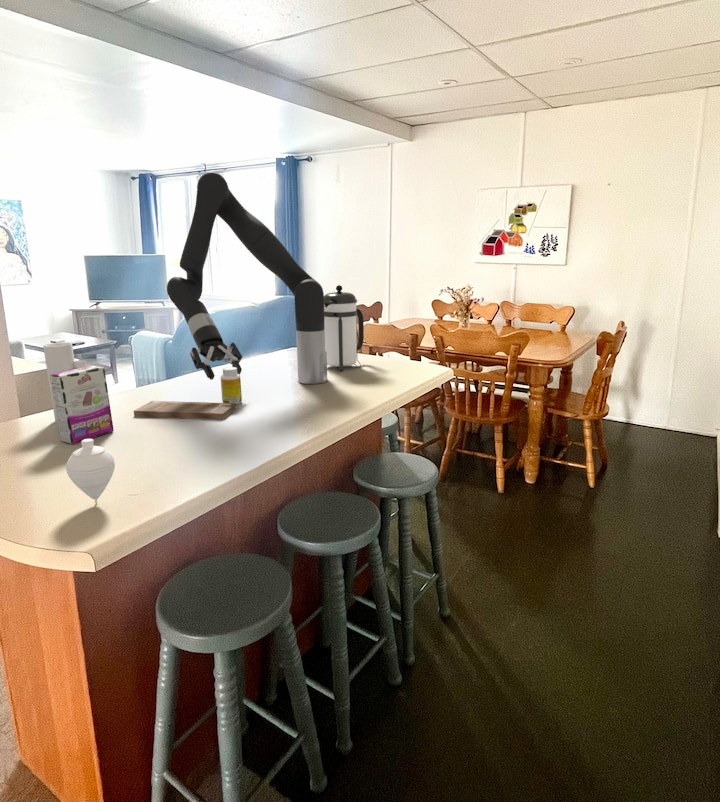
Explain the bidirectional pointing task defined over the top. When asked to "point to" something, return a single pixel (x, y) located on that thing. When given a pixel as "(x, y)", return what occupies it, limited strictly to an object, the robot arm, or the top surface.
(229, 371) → the supplement bottle
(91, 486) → the spinning top
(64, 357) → the vase
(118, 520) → the top surface
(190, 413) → the walnut board
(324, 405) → the top surface
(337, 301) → the coffee press
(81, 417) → the candy bar box
